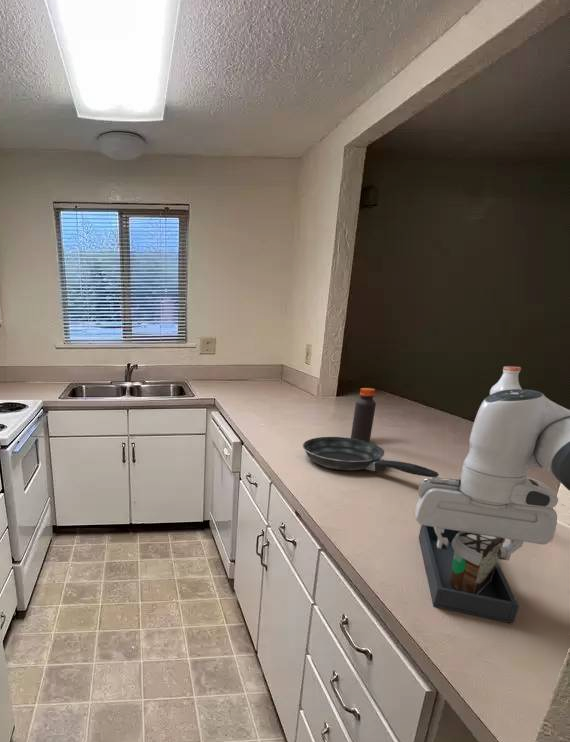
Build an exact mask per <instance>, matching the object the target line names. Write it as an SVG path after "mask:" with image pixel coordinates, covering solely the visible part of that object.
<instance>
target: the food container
mask: <svg viewBox="0 0 570 742" xmlns="http://www.w3.org/2000/svg"><path fill="white" fill-rule="evenodd" d="M505 542H506V539H505V538H499V537H493V536H487V535H481V534H474V533H468V532H462V531H460V532H459V533H458V534H457V535H456V536H455V537H454V539H453V541H452V548H453V549H454V558H453V565H452V571H451V578H450V584H451V586H452V588H453V589H454V590H458V591H462V592H467V593H472V594H477V595H478V594H479V593H480V592H481V591H482V590H483V589H484V588H485V586H486V585H487V584H488V583H489V582H490V581H491V579H492V576H493V573H494V569H495V566H496V564H497V562H498V560H499V559H498V557H497V552H498V548H499V547H503V545H504V543H505Z"/></svg>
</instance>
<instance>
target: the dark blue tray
mask: <svg viewBox="0 0 570 742" xmlns="http://www.w3.org/2000/svg"><path fill="white" fill-rule="evenodd" d="M459 532H460V531H456V530H450V529H445V530H444V533H441V535H442V537H446V538H448V541H449V544H448V546H447V547H448V548H447V550H446V549H440V548H437V541H438V537H437V535H436V533H435V530H434V527H431V526H425V525H420V530H419V533H418V541H419V545H420V550H421V555H422V559H423V565H424V569H425V574H426V578H427V584H428V587H429V593H430V598H431V603H432V606H433V607H435V608H439V609H443V610H448V611H452V612H458V613H462V614H466V615H471V616H475V617H479V618H484V619H487V620H492V621H493V620H494V621H498V622H501V623H506V624H510V625H514V622H515V619H516V616H517V613H518V610H519V607H520V605H519V603H518V601H517V599H516V596H515V595H514V593H513V591H512V588H511V586H510V584H509V582H508V580H507V579H506V576H505V574H504V572H503V570H502V568H501V566H500V564H499V562H498V561H497V564H496V566H495V569H494V573H493V576H492V579H491V581H490V582H489V583H488V584H487V585H486V586H485V588H484V589H483V590H482V591H481V592H480V593H479V594H478V595H477V594H472V593H467V592H462V591H458V590H454V589H453V588H452V586H451V584H450V578H451V571H452V565H453V558H454V549H453V548H452V541H453V539H454V537H455V536H456V535H457V534H458V533H459Z"/></svg>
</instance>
